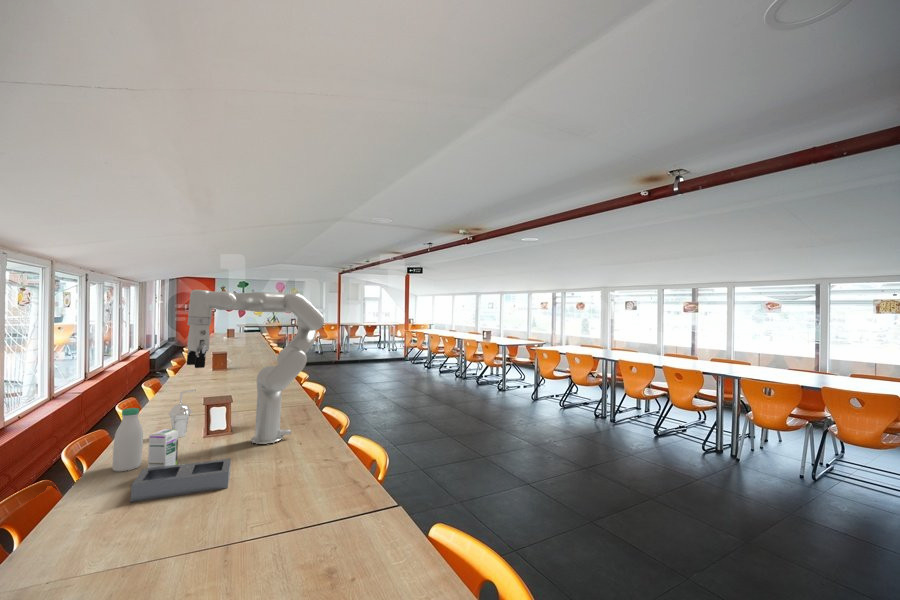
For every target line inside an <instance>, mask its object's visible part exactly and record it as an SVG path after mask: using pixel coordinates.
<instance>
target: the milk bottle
mask: <svg viewBox="0 0 900 600" xmlns="http://www.w3.org/2000/svg"><path fill="white" fill-rule="evenodd" d="M139 415H140V408H137V407H129V408H124V409H122V411H121V418H122V419H121V422H120V424H119V426H118V428H117V429H116V431H115V433H114V434H115V435H114V440H113V450H112V451H113V452H112V454H113V455H112V467H111V469H112V471H114V472H127V470H128V471H132V470H136V469H137V468H139V467H141V465H142V458H143V447H144V446H143V444H144V443H143V441H144V429H143V426H142V424H141V422H140V419H139Z"/></svg>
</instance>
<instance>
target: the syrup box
mask: <svg viewBox="0 0 900 600" xmlns="http://www.w3.org/2000/svg"><path fill="white" fill-rule="evenodd" d="M178 432H179V430H176V429H172V428H164V429H160V430H159V431H155V432H154V433H150V434H149V435H148V437H149V438H148V454H147V455H148V457H147V468H155V467H163V466H172V465H178V453H179V452H178V451H179V437H178Z"/></svg>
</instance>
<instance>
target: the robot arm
mask: <svg viewBox="0 0 900 600" xmlns="http://www.w3.org/2000/svg"><path fill="white" fill-rule="evenodd" d="M188 305H189V306H188V317H187V326H189V329H188V335H187V336H188V337H187V352H186V353H187V354H186V355H187V356H186V365H187V366H194V368H195V369H203V368H205V366H206V357H207V352H209V350H210V327H211V324H212V315H213V314H212V313H213V309H215V310H217V311H246V312H248V311H250V312H257V313H258V312H260V313H292V314H294V316H295V317H296V322H297V323H296V324H297V333H296V334H295V336H294V337H293V338H292V339H291V341H289V342H288V344H286V346H284V348H283V349H282V350H280V352H279V353H278V355H277V358H276V361H277V364H276V366H274V365H266V366H265V367H263V368H261V369H260V370H259V371H258V374H257V376H256V391H257V392H256V393H257V394H256V395H257V397H256V410H255V413H256V415H255V429H254V430H255V432H254V433H255V434H254V436H252V437H251V438H250V443H251V442H252V443H251V444H253V443H256V444H255V445H257V444H267V443H273V442H276V441H279V440H281V439H282V438H283V439H284V436H285V435H287V436H289V435H292V429H287V428H285V429H282V428H281V415H282V414H281V413H282V411H281V410H282V391H283V390H285V389H286V388H287V387H288V386H289V385H290V384H291V383H292V382H293V381H294V380H295V379H296V377H298V375H299V374H300V373H301V372H302V371H303V370H304V368H305V367H306V364H307V361H308V357H307V352H308V351H309V350H310V349H311V347H312V346H313V345H314V343H315V341H316V336H317V330H320V329H321V328H323V326H324V324H325V318H324V316H323V314H322V312H320V310H318V309H317V308H316V307H315V306H314V305H313V304H312V303H311V302H310V301H309V300H308V299H307V298H306V297H305V296H303V295H302V294H301V293H296V292H293V293H285V292H283V293H282V292H267V291H266V292H265V291H254V292H230V291H226V290H224V291H223V290H222V291H211V290H204V289H193V290H191V291H190V294H189V303H188ZM281 441H282V440H281ZM273 444H274V443H273ZM267 445H268V444H267Z"/></svg>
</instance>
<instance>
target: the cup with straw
mask: <svg viewBox="0 0 900 600" xmlns="http://www.w3.org/2000/svg"><path fill="white" fill-rule="evenodd" d="M195 391H196V389H195V388H194V389H189V390H183V391H181V392H180V393H179V403H177V404H176V405H173V407H172V408H171V410H170V411H169V412H168V416H170V417H169V418H170V421H171V429H176V430H179V432H178V438H182V436H183V437H185V436H186V433H187V429H188V422H189V419H190V416H191V414H192V413H193V410H192V409H191V408H190V406H189V405H188V404H186V403H182V402H183V394H184V393H191V392H195Z"/></svg>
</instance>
